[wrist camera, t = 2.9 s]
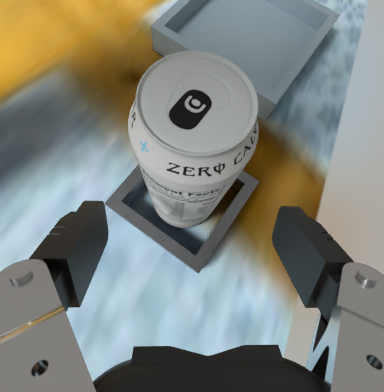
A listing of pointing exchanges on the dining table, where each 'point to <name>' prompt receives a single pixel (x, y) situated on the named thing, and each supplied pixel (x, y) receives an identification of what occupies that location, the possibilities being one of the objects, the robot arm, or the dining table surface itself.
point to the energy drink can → (192, 132)
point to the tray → (249, 38)
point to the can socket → (195, 262)
